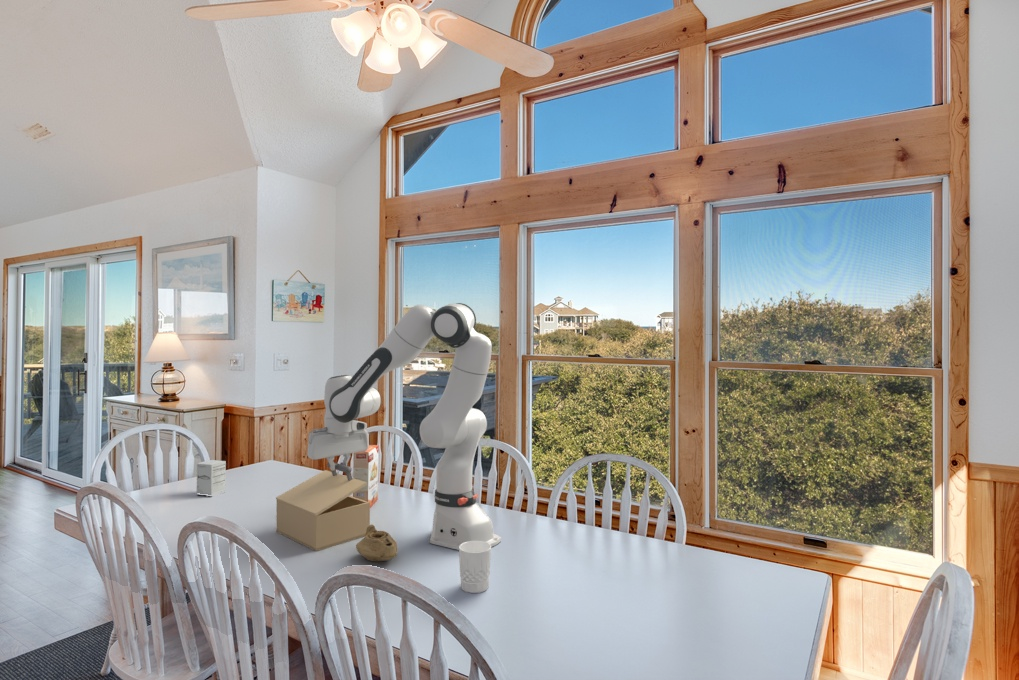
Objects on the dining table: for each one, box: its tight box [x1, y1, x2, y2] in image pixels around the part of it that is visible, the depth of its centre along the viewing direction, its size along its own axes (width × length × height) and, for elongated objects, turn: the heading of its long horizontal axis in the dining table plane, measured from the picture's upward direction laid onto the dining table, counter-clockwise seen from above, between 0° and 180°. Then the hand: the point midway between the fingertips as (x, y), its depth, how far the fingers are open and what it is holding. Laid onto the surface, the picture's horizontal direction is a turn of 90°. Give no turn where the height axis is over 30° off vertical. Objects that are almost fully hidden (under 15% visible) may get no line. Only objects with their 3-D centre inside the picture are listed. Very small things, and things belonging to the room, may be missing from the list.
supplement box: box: [196, 459, 227, 495], centre depth 216 cm, size 7×7×13 cm
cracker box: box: [352, 444, 380, 508], centre depth 202 cm, size 14×6×21 cm, turn 179°
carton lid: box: [275, 461, 367, 516], centre depth 172 cm, size 24×18×5 cm
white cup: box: [458, 541, 492, 594], centre depth 136 cm, size 8×8×10 cm
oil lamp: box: [355, 523, 398, 562], centre depth 153 cm, size 11×15×8 cm
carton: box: [275, 495, 371, 552], centre depth 173 cm, size 24×18×10 cm
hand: (338, 469), depth 177 cm, fingers open, 2 cm apart
